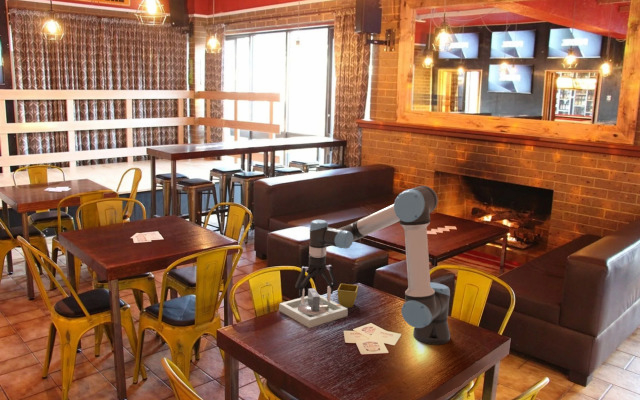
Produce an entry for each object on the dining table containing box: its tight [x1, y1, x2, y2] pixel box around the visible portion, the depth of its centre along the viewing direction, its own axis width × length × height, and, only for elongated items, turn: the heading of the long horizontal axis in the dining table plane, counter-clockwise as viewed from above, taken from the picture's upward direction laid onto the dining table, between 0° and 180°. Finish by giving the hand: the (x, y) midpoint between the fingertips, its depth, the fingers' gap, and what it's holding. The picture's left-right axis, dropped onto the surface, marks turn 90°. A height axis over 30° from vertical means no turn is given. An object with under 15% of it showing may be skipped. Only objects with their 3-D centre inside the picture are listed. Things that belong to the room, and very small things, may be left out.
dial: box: [298, 288, 329, 317], centre depth 256 cm, size 14×14×8 cm
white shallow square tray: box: [278, 294, 349, 329], centre depth 257 cm, size 22×22×4 cm
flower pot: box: [337, 283, 359, 309], centre depth 267 cm, size 9×9×9 cm
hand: (315, 301), depth 253 cm, fingers open, 11 cm apart
